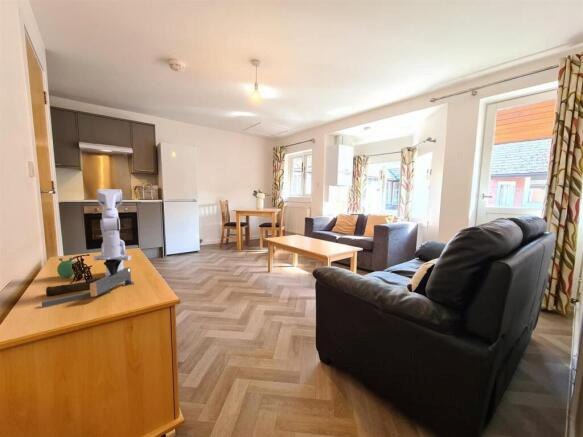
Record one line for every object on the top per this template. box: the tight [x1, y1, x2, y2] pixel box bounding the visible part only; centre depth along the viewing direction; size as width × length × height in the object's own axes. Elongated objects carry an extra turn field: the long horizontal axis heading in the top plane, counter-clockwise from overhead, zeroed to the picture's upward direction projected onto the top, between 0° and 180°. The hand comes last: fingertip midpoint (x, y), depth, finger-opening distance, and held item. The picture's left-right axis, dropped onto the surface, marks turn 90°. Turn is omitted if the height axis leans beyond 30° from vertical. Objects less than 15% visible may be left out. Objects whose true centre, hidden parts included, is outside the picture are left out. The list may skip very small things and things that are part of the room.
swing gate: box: [89, 266, 132, 297], centre depth 102 cm, size 21×2×7 cm, turn 0°
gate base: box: [121, 280, 135, 287], centre depth 112 cm, size 4×4×1 cm
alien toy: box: [56, 257, 76, 279], centre depth 120 cm, size 7×8×10 cm
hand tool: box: [45, 277, 102, 297], centre depth 103 cm, size 19×4×5 cm, turn 119°
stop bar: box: [41, 289, 111, 308], centre depth 95 cm, size 2×20×2 cm, turn 133°
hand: (113, 276), depth 105 cm, fingers closed
